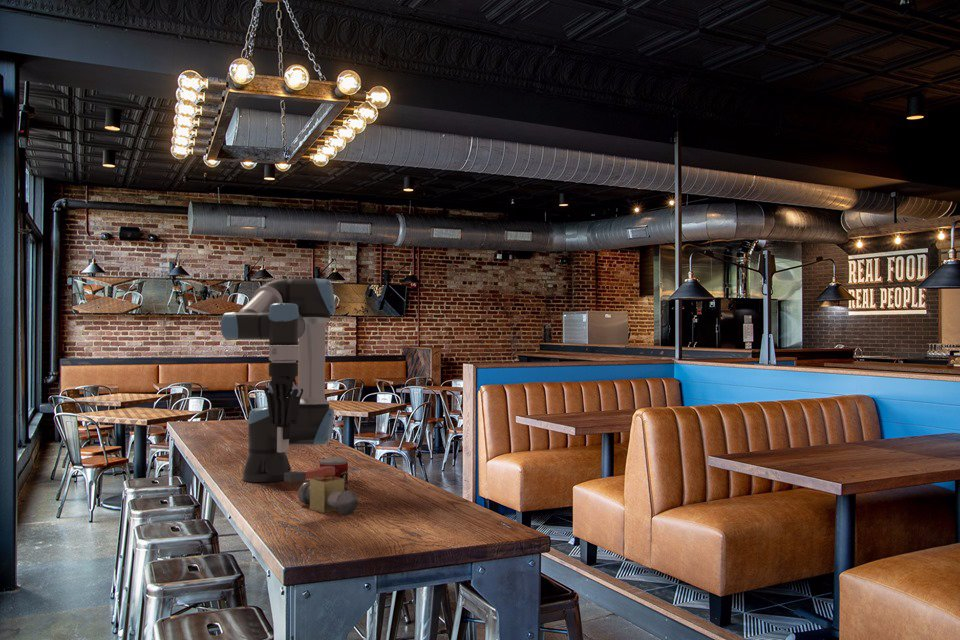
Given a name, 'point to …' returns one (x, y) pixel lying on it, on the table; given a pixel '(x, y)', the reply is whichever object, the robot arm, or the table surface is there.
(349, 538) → the table surface
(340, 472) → the canned food
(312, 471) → the lever
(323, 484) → the valve pipe
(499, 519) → the table surface
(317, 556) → the table surface
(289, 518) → the table surface
